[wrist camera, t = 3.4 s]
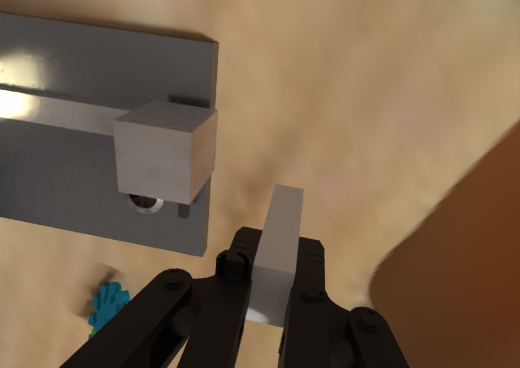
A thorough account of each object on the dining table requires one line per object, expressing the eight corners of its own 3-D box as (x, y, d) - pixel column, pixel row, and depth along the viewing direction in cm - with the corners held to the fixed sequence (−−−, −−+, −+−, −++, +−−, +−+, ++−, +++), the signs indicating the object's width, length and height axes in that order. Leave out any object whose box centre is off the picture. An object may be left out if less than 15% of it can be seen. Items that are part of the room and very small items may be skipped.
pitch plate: (-52, 197, 37) (-146, 241, 29) (-123, -7, 28) (-286, -18, 20) (206, 248, 34) (176, 310, 27) (218, 42, 26) (178, 49, 18)
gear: (116, 269, 36) (129, 370, 31) (164, 266, 40) (181, 354, 36) (76, 302, 41) (82, 391, 37) (122, 296, 46) (132, 375, 41)
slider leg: (159, 208, 30) (123, 250, 24) (157, 99, 26) (112, 119, 20) (212, 218, 30) (188, 263, 24) (219, 109, 25) (191, 132, 20)
